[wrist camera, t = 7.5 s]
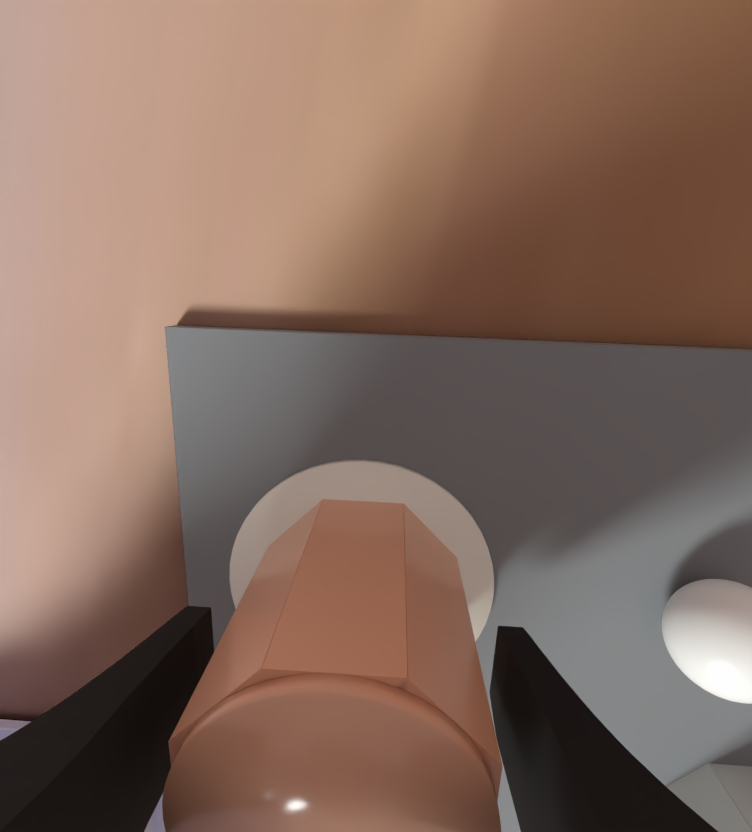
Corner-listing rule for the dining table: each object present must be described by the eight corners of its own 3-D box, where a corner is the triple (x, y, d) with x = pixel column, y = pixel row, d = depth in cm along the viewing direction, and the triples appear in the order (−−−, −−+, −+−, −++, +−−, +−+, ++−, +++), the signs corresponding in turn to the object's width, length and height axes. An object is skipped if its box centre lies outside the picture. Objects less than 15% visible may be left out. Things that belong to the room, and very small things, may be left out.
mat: (215, 836, 18) (209, 854, 18) (175, 325, 13) (164, 326, 12) (785, 883, 17) (798, 903, 17) (992, 358, 12) (1022, 362, 12)
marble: (632, 639, 14) (692, 728, 11) (651, 554, 13) (721, 626, 11) (731, 646, 14) (818, 737, 11) (757, 560, 13) (856, 635, 10)
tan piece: (271, 656, 15) (176, 928, 8) (265, 495, 13) (146, 682, 7) (446, 668, 14) (483, 956, 8) (461, 506, 13) (520, 708, 7)
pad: (238, 677, 15) (235, 685, 15) (226, 452, 13) (222, 456, 13) (478, 694, 15) (480, 702, 15) (506, 466, 13) (508, 470, 13)
